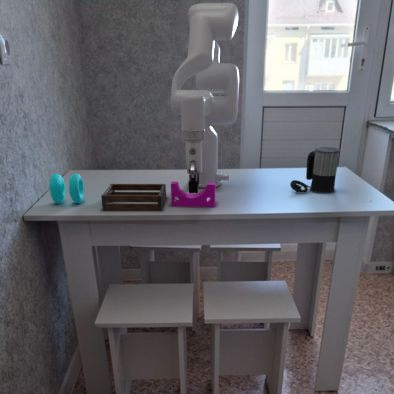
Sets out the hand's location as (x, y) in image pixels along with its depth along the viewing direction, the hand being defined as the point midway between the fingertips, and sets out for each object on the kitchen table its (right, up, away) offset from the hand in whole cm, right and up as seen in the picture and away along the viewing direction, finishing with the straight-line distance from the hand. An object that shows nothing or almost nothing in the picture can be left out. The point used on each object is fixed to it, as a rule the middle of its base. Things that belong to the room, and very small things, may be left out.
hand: (194, 188), depth 170 cm
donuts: (-45, -4, +4) cm, 45 cm away
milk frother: (+45, +4, +17) cm, 48 cm away
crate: (-21, -4, +3) cm, 21 cm away
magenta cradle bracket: (0, -5, +2) cm, 5 cm away
